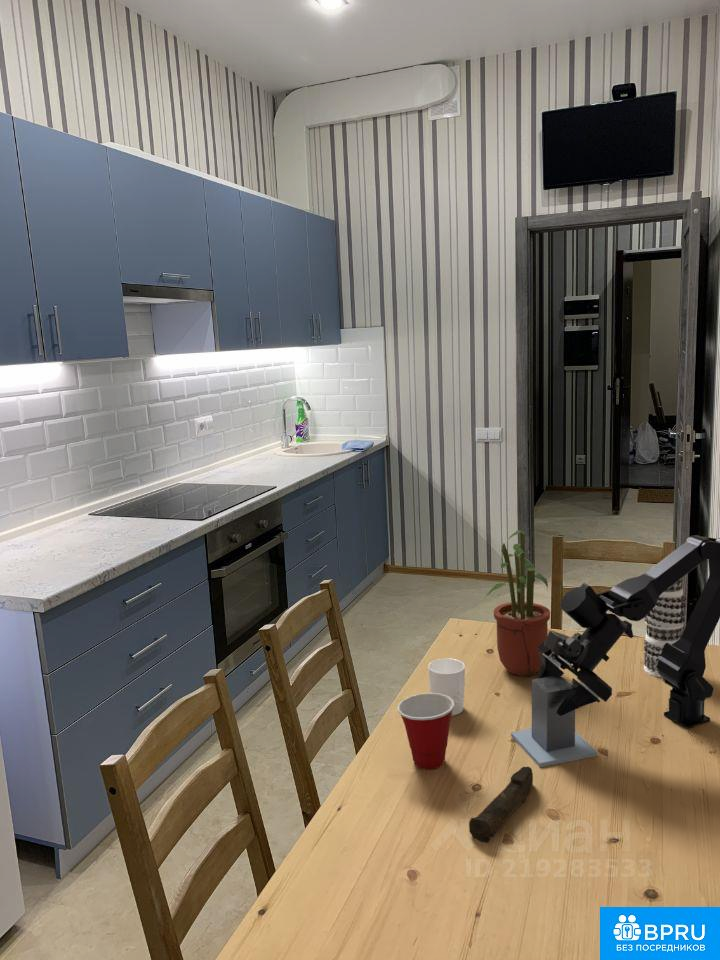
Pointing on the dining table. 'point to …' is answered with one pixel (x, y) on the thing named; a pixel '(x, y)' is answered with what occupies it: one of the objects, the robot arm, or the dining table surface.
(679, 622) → the decorative candle
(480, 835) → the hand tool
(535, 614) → the potted plant
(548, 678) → the grey block
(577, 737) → the base block
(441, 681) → the white cup
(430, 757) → the plastic cup
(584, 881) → the dining table surface
